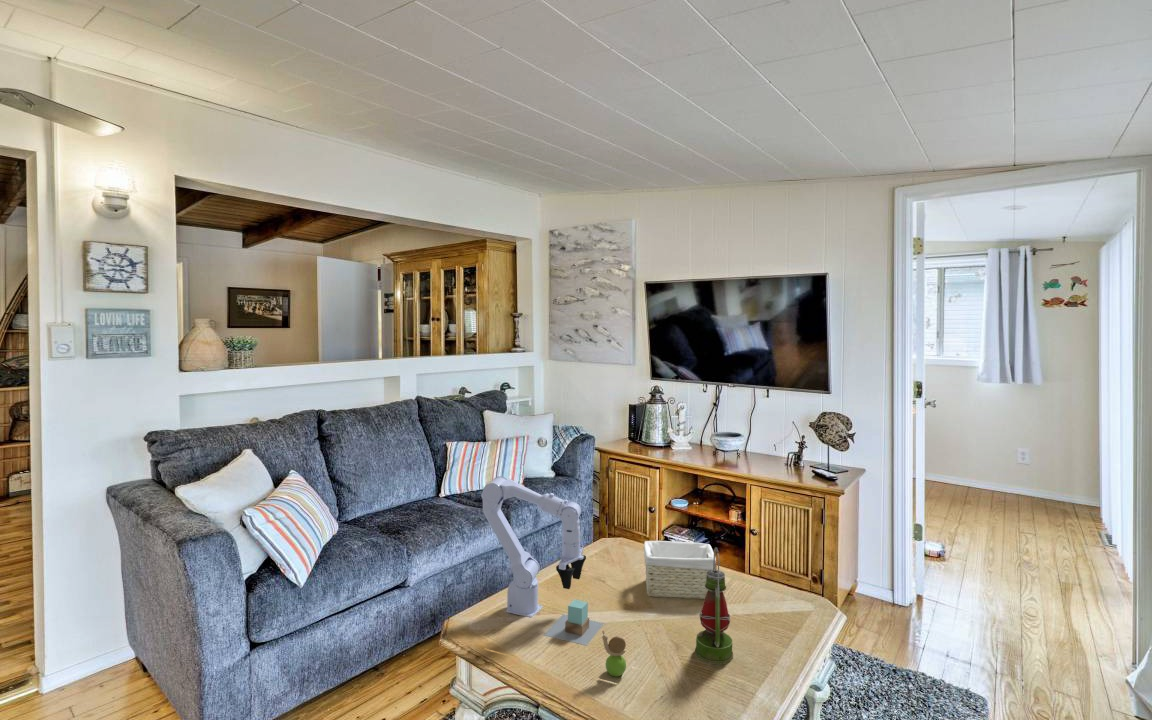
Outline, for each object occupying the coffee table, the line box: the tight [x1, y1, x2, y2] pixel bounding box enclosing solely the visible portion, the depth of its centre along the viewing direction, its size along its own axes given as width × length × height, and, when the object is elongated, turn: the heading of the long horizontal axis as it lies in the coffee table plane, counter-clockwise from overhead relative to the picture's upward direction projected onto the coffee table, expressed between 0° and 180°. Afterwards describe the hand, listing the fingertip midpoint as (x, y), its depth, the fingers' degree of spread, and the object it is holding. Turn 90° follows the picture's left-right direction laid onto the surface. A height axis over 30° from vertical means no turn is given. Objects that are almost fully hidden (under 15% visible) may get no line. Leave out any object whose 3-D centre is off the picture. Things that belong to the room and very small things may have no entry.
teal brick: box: [567, 598, 589, 625], centre depth 179 cm, size 4×4×5 cm
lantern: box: [694, 547, 734, 665], centre depth 167 cm, size 14×11×30 cm
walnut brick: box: [565, 617, 590, 636], centre depth 180 cm, size 6×6×3 cm
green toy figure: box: [601, 630, 627, 678], centre depth 157 cm, size 5×6×12 cm
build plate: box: [543, 613, 605, 646], centre depth 180 cm, size 14×14×1 cm
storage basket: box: [643, 540, 717, 600], centre depth 208 cm, size 24×16×15 cm
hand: (571, 583), depth 189 cm, fingers open, 7 cm apart
